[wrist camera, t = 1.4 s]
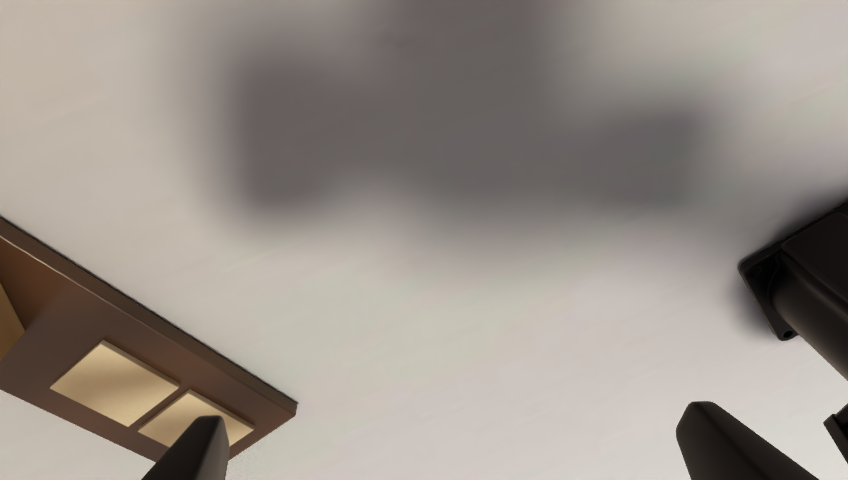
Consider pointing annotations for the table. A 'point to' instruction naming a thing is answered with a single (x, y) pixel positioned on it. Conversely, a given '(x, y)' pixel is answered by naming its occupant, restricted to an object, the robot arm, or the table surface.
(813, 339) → the robot arm
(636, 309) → the table surface
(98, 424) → the board
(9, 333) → the tall tan block
